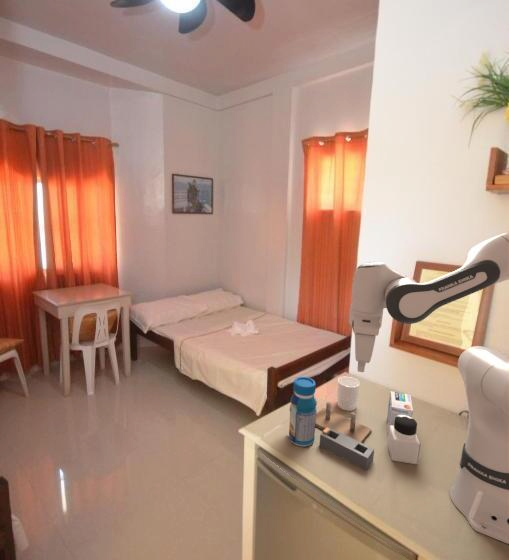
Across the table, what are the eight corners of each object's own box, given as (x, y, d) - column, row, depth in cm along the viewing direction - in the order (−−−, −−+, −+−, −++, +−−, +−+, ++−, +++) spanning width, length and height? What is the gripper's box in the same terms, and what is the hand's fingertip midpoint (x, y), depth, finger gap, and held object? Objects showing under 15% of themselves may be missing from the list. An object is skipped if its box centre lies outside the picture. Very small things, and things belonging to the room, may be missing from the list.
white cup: (331, 403, 127) (333, 379, 125) (347, 398, 130) (349, 374, 128) (346, 414, 120) (348, 388, 118) (362, 408, 123) (364, 384, 121)
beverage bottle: (305, 451, 100) (309, 391, 96) (283, 439, 106) (285, 381, 102) (319, 438, 107) (323, 381, 103) (297, 426, 112) (300, 372, 108)
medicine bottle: (417, 465, 96) (422, 428, 94) (391, 461, 97) (395, 424, 95) (411, 448, 103) (415, 413, 100) (387, 444, 104) (391, 410, 102)
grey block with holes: (373, 460, 97) (374, 447, 96) (366, 470, 93) (367, 456, 93) (327, 437, 107) (328, 425, 106) (319, 445, 103) (320, 432, 102)
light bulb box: (386, 417, 118) (389, 390, 116) (407, 422, 116) (410, 394, 114) (387, 436, 108) (390, 406, 106) (409, 441, 106) (413, 411, 104)
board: (371, 432, 110) (373, 412, 109) (358, 447, 103) (360, 427, 101) (323, 410, 121) (324, 392, 120) (308, 423, 114) (309, 404, 113)
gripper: (354, 307, 104) (350, 348, 107) (353, 328, 85) (348, 377, 88) (375, 310, 103) (370, 351, 106) (379, 332, 83) (373, 382, 86)
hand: (360, 363), depth 97 cm, fingers open, 8 cm apart
